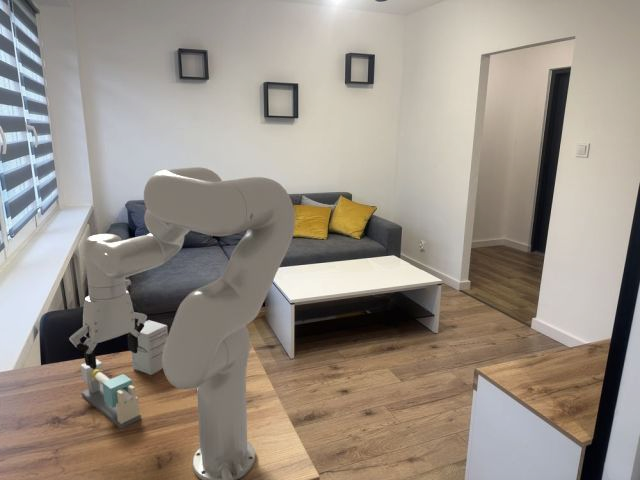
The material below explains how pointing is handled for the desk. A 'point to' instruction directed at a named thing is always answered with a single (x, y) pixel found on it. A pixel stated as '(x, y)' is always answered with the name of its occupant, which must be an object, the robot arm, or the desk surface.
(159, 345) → the supplement box
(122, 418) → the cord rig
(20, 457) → the desk surface
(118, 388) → the sleeve
